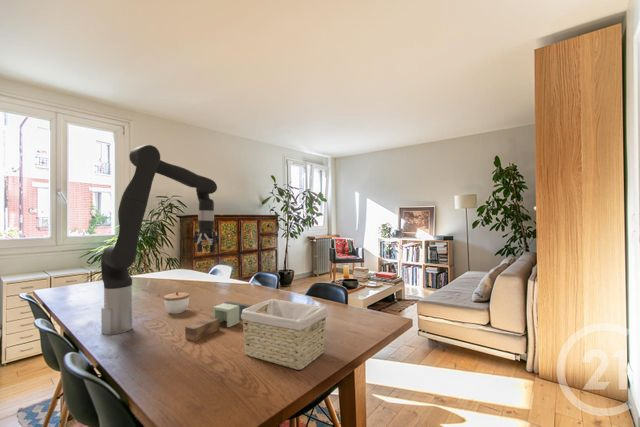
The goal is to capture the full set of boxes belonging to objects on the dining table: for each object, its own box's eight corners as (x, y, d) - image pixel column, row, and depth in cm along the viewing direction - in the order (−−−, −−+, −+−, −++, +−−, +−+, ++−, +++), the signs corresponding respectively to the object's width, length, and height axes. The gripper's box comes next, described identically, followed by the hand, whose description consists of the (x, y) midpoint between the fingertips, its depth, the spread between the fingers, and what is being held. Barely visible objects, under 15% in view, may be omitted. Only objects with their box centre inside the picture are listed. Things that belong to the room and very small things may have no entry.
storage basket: (238, 355, 96) (238, 309, 96) (272, 337, 110) (271, 297, 110) (301, 375, 84) (300, 321, 84) (329, 352, 98) (329, 306, 98)
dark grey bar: (252, 321, 127) (252, 307, 127) (224, 316, 135) (224, 302, 135) (260, 317, 132) (260, 304, 132) (232, 312, 139) (232, 299, 139)
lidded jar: (182, 315, 136) (182, 294, 136) (159, 315, 136) (159, 294, 136) (193, 308, 147) (193, 288, 147) (171, 308, 147) (171, 288, 147)
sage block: (228, 327, 120) (228, 309, 120) (213, 324, 124) (213, 306, 124) (239, 322, 125) (239, 305, 125) (224, 319, 129) (224, 303, 129)
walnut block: (194, 341, 108) (193, 329, 108) (185, 339, 110) (185, 327, 110) (219, 330, 118) (219, 318, 118) (211, 328, 120) (211, 317, 120)
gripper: (190, 219, 152) (189, 252, 151) (210, 219, 145) (210, 253, 145) (201, 219, 158) (201, 251, 158) (222, 219, 152) (222, 252, 152)
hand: (205, 252), depth 151 cm, fingers open, 8 cm apart
